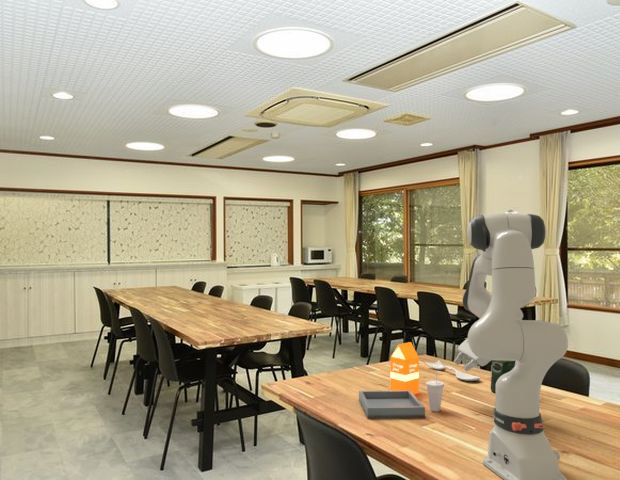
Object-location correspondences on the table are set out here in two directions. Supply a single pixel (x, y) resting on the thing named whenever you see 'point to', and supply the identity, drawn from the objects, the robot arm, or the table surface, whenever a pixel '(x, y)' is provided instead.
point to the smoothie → (435, 394)
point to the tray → (391, 404)
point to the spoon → (459, 374)
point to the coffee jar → (500, 371)
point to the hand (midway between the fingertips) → (460, 366)
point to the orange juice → (405, 369)
